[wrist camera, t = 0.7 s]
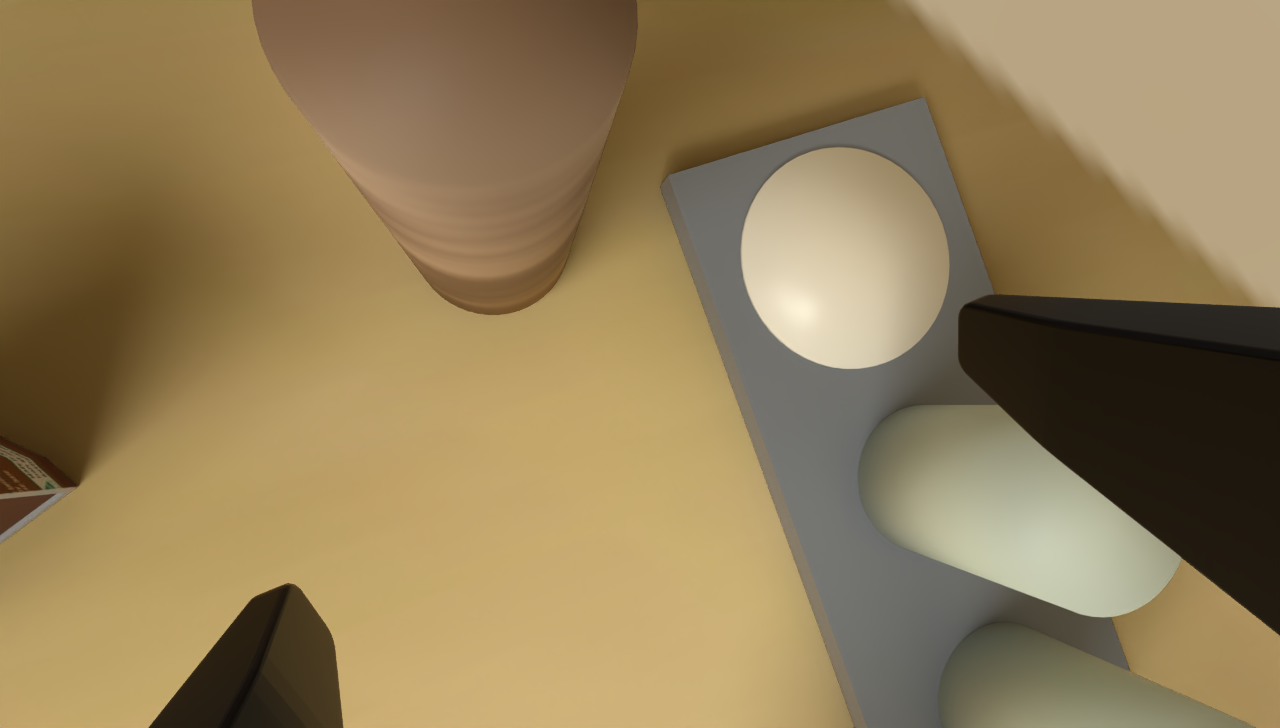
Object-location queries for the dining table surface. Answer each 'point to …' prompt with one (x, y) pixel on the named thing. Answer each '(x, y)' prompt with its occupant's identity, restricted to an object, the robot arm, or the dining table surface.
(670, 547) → the dining table surface
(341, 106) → the walnut post
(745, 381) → the slate board
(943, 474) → the sage posts
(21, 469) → the food container
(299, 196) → the dining table surface
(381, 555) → the dining table surface
